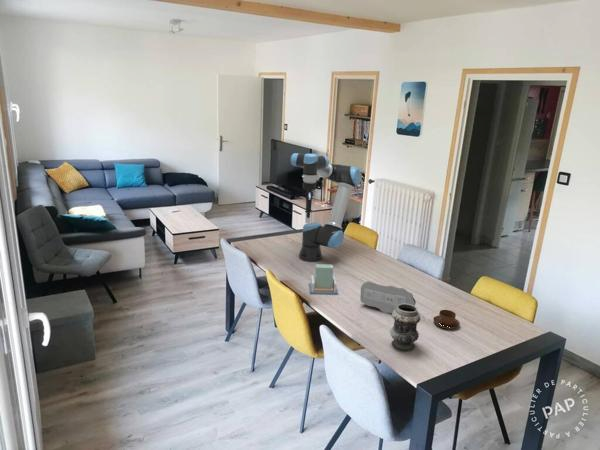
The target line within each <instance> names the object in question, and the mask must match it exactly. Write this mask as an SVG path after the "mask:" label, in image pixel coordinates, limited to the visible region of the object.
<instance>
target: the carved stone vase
mask: <svg viewBox="0 0 600 450" xmlns="http://www.w3.org/2000/svg"><path fill="white" fill-rule="evenodd" d="M391 315H392V318H393V320H394V321H393V326H392V327H391V328H390V330H389V331H390V332H389V334H390V337H391V338H392V339H393V340H391V346H392V347H393V348H394V349H395V350H398V351H402V352H411V351H413V350H414V349H415V348H416V347H415V346H416V345H415V343H414V342H416V341H417V340H418V339H419V335H420V334H419V331H418V330H417V328H418V327H417V326H418V324H419V322H421V319H422V318H421V314H420V313H419V312H418V308H417V306H416V305H415V306H414V305H411V304H399V305H398V306H397V309H395V310H394V311H393V313H391Z"/></svg>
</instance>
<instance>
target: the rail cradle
mask: <svg viewBox="0 0 600 450" xmlns="http://www.w3.org/2000/svg"><path fill="white" fill-rule="evenodd" d="M314 283H315V278H314V275H313V274H311V276H310V283H308V289H309V295H330V296H331V295H334V296H335V295H336V296H337V295H339V291H338V288H337V280H336V277H335V275H333V279H332V286H333V290H334V291H333V292H328V291H314Z"/></svg>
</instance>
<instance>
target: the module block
mask: <svg viewBox="0 0 600 450" xmlns="http://www.w3.org/2000/svg"><path fill="white" fill-rule="evenodd" d="M314 272H315V273H314V283H315V288H324V289H332V279H333V276H334V266H333V264H324V263H323V264H318V263H317V264H315V271H314Z"/></svg>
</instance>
